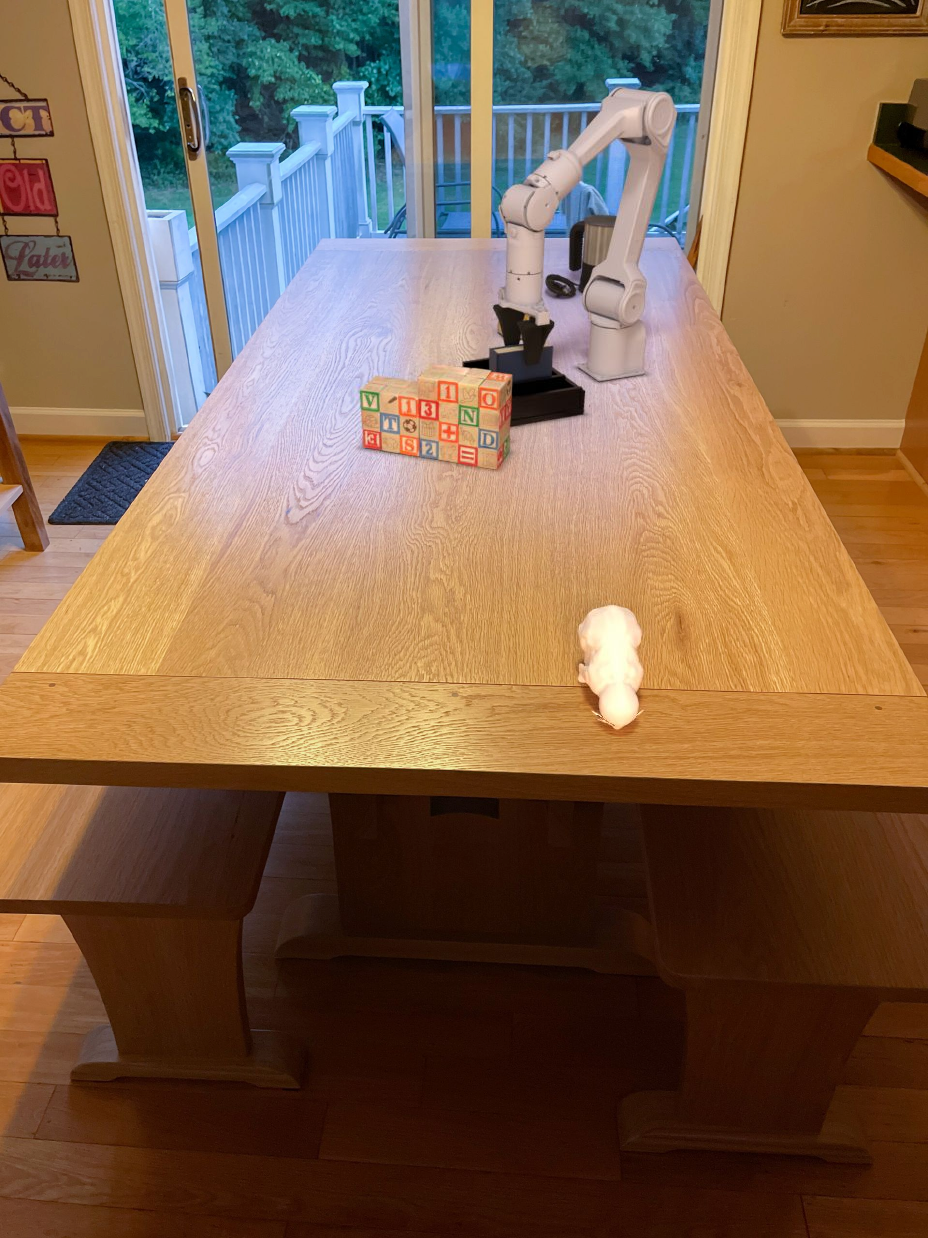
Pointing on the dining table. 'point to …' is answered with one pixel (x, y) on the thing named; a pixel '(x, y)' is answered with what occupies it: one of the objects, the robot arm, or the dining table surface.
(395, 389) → the stack of blocks
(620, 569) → the dining table surface
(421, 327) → the dining table surface
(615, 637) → the white animal figurine
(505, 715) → the dining table surface
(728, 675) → the dining table surface
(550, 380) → the rack
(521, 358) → the book
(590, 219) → the milk frother
